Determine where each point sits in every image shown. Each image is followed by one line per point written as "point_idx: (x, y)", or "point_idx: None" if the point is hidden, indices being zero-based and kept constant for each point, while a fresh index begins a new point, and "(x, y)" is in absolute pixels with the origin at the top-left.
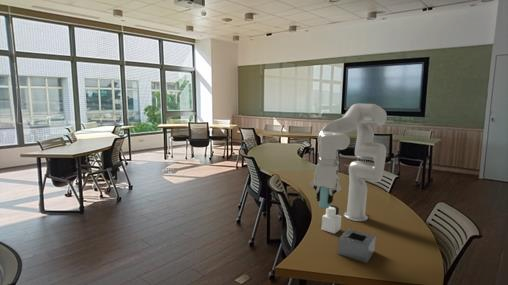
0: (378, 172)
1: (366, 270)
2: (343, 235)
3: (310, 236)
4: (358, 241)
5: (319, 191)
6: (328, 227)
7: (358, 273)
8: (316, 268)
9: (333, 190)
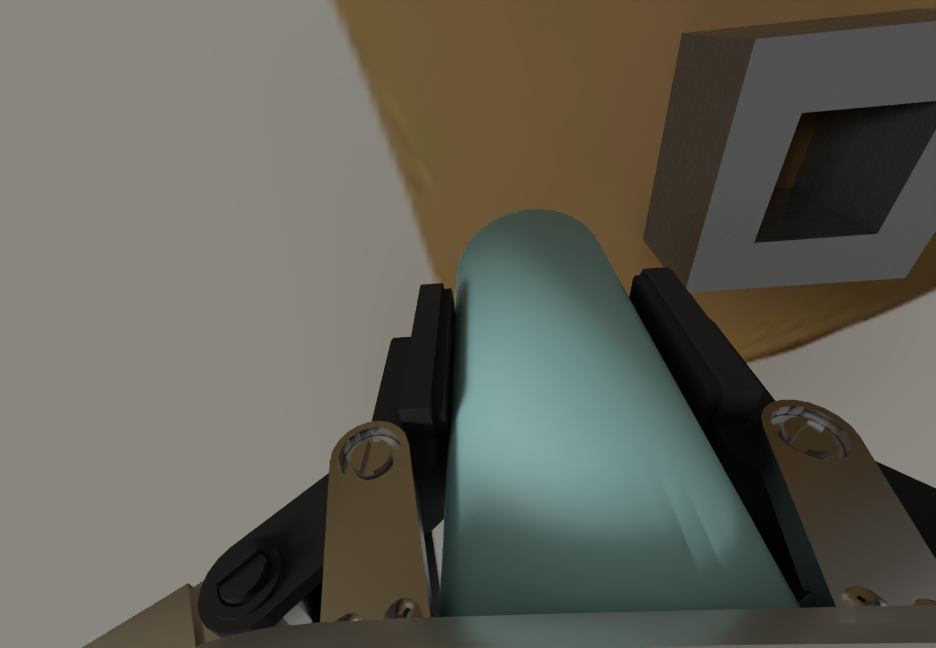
0: None
1: (804, 293)
2: (716, 232)
3: (402, 134)
4: (837, 252)
5: (443, 515)
6: None
7: (760, 335)
8: None
9: (877, 533)
